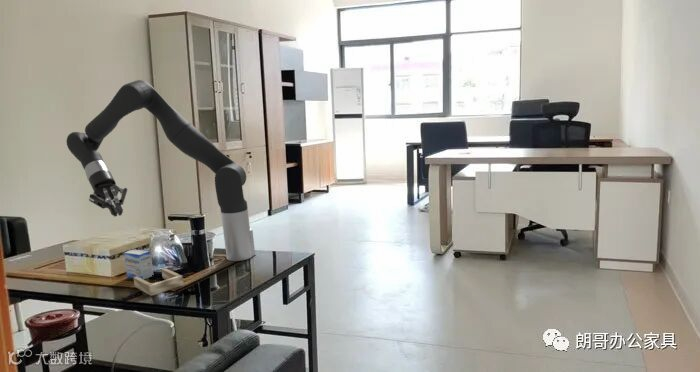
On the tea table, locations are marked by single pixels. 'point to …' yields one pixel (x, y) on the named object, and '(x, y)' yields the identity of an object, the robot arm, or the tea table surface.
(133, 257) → the medicine box
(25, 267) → the tea table surface
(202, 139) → the robot arm
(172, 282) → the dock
